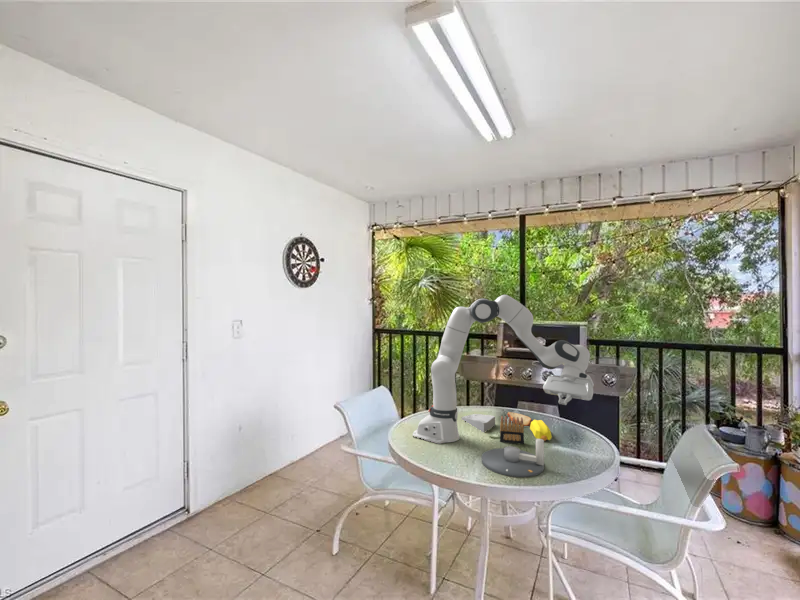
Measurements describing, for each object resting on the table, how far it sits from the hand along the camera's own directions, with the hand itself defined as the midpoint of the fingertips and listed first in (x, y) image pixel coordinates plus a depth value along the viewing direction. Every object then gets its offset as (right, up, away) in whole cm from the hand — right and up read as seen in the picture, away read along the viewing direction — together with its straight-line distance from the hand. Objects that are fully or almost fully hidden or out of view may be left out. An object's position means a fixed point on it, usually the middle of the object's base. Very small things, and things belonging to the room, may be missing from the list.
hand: (562, 403), depth 159 cm
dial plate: (-24, -22, -8) cm, 33 cm away
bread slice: (-4, -23, +47) cm, 53 cm away
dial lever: (-20, -20, -10) cm, 30 cm away
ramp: (-27, -23, +42) cm, 55 cm away
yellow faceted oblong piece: (0, -23, +24) cm, 33 cm away
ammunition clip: (-17, -22, +15) cm, 32 cm away
